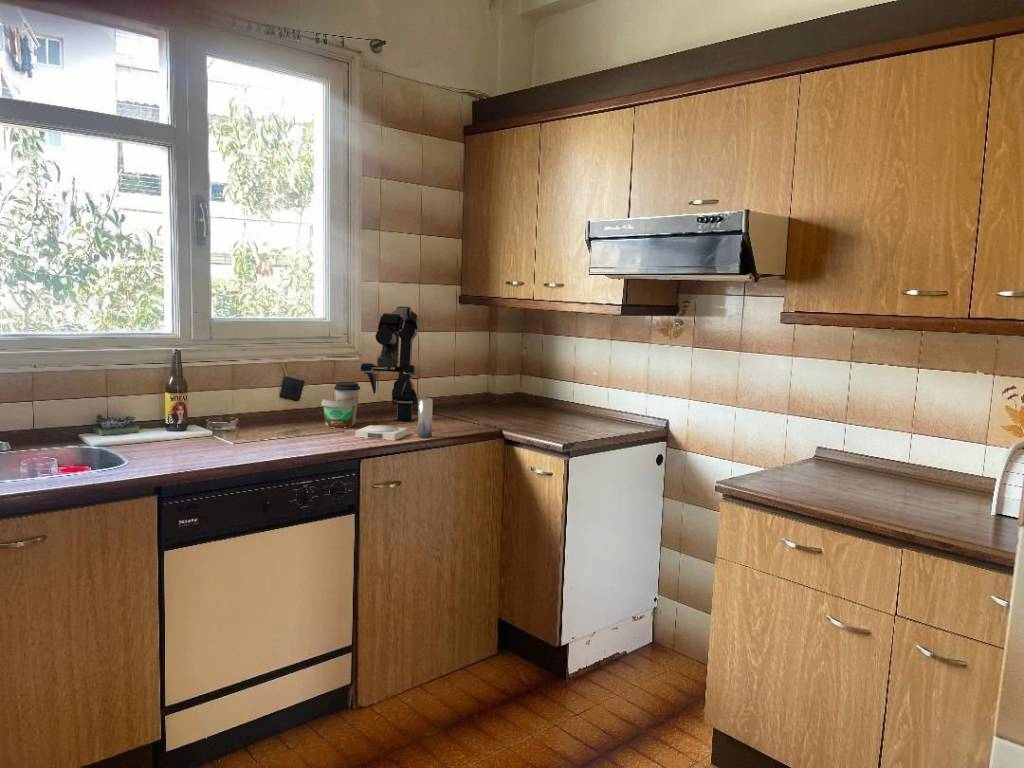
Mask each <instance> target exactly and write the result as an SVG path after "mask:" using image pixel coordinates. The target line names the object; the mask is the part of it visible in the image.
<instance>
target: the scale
mask: <svg viewBox="0 0 1024 768" xmlns="http://www.w3.org/2000/svg"><path fill="white" fill-rule="evenodd" d="M407 435H408V427H397V426H395V425H386V424H385V425H382V424H381V425H379V424H378V425H377V424H376V425H367V426H365V427H362V428H359V429H356V430H355V438H360V437H364V438H363V439H372V438H374V440H384V439H386V440H385V441H396V439H397V440H398V439H401V438H403V437H405V436H407Z"/></svg>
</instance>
